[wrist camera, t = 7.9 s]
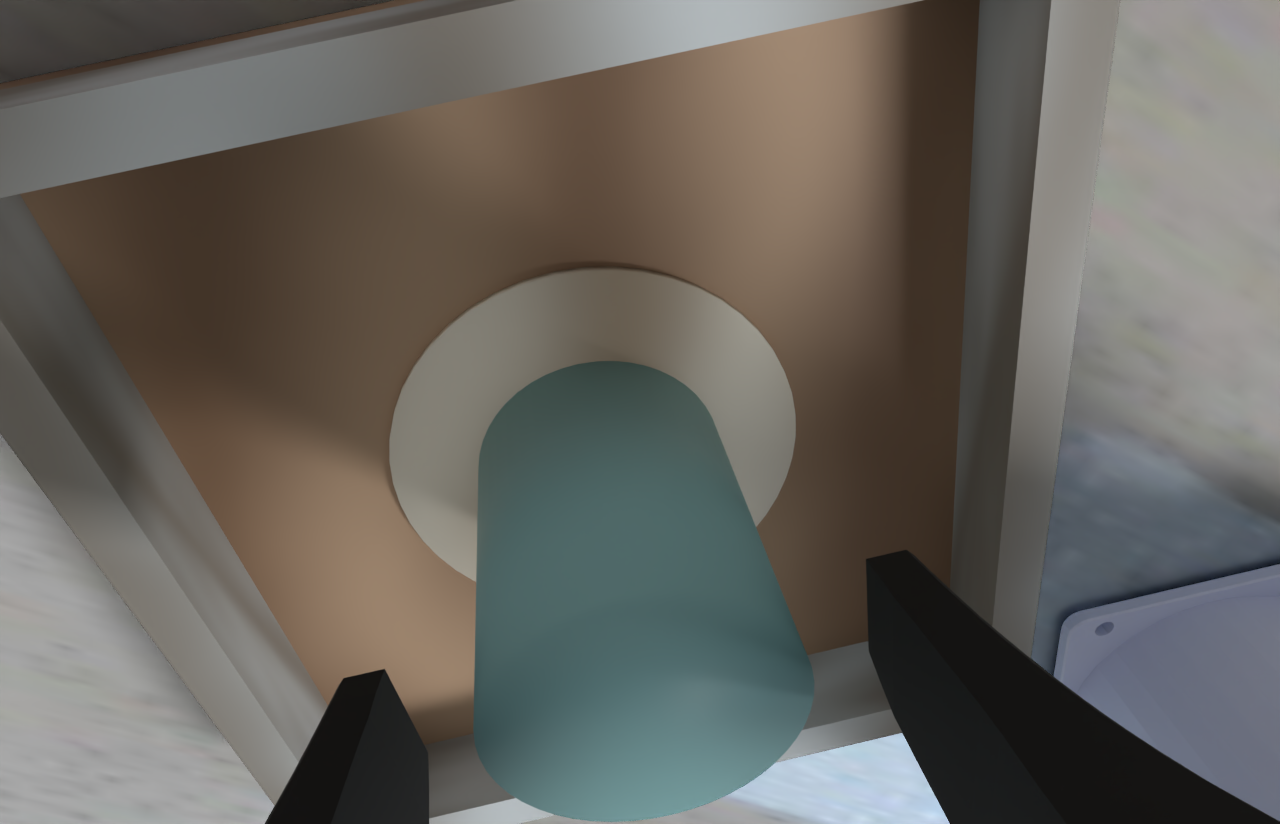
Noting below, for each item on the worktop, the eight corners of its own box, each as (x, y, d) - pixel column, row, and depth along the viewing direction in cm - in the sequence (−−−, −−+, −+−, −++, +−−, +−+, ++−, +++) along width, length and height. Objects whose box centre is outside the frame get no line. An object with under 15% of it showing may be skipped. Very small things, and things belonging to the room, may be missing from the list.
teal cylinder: (705, 336, 16) (806, 559, 11) (730, 529, 18) (820, 779, 13) (448, 391, 15) (428, 643, 10) (511, 577, 18) (519, 849, 13)
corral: (1023, -133, 13) (1138, -132, 11) (969, 616, 23) (1024, 703, 20) (-77, 99, 13) (-207, 153, 10) (340, 764, 22) (322, 870, 20)
